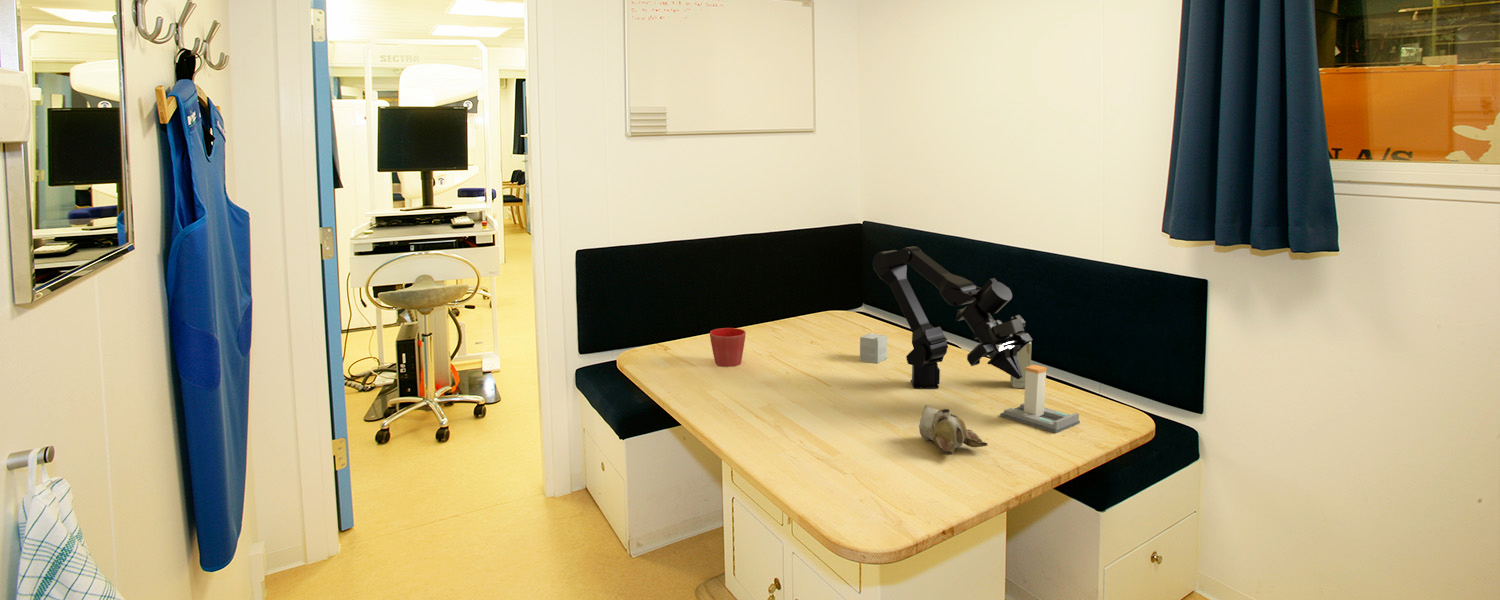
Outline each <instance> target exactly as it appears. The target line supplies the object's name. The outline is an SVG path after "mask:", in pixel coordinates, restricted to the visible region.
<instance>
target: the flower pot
mask: <svg viewBox="0 0 1500 600" xmlns="http://www.w3.org/2000/svg"><path fill="white" fill-rule="evenodd" d="M746 334H747V332H746V330H744V329H742V328H737V327H736V328H735V327H723V328H722V327H721V328H715V329H712V330H710V332H709V337H710V343H711V350H712V355H713V360H714V364H715V365H716V366H718V367H723V368H724V367H725V368H733V367H737V366H740V365H741V363H742V360H743V354H744V348H745V342H746Z"/></svg>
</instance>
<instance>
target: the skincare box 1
mask: <svg viewBox="0 0 1500 600" xmlns="http://www.w3.org/2000/svg"><path fill="white" fill-rule="evenodd" d="M859 341H860V342H859V361H861V362H865V363H873V364H880V363H881V362H883V361H885V360H886V359H887V358H888V357H887V356H888V355H887V354H888V353H887V352H888V348H887V347H888V335H886V334H878V333H872V332H869V333H866V334H865V335H862V336H860V337H859Z"/></svg>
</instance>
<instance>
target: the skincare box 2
mask: <svg viewBox="0 0 1500 600" xmlns="http://www.w3.org/2000/svg"><path fill="white" fill-rule="evenodd" d="M1017 359H1018V363H1019V366H1020V370H1021V373H1022V378H1020V379H1016V378H1014V377H1013V376H1011V375H1010V385H1011V386H1012V388H1017V389H1025V378H1026V371H1025V367H1028V366H1031V365H1032V362H1031V361H1032V341H1031V342H1030V343H1028V344H1027V345H1026V346H1025V347H1024V348H1023V349H1021V350H1020V351H1019V352H1017Z"/></svg>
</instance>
